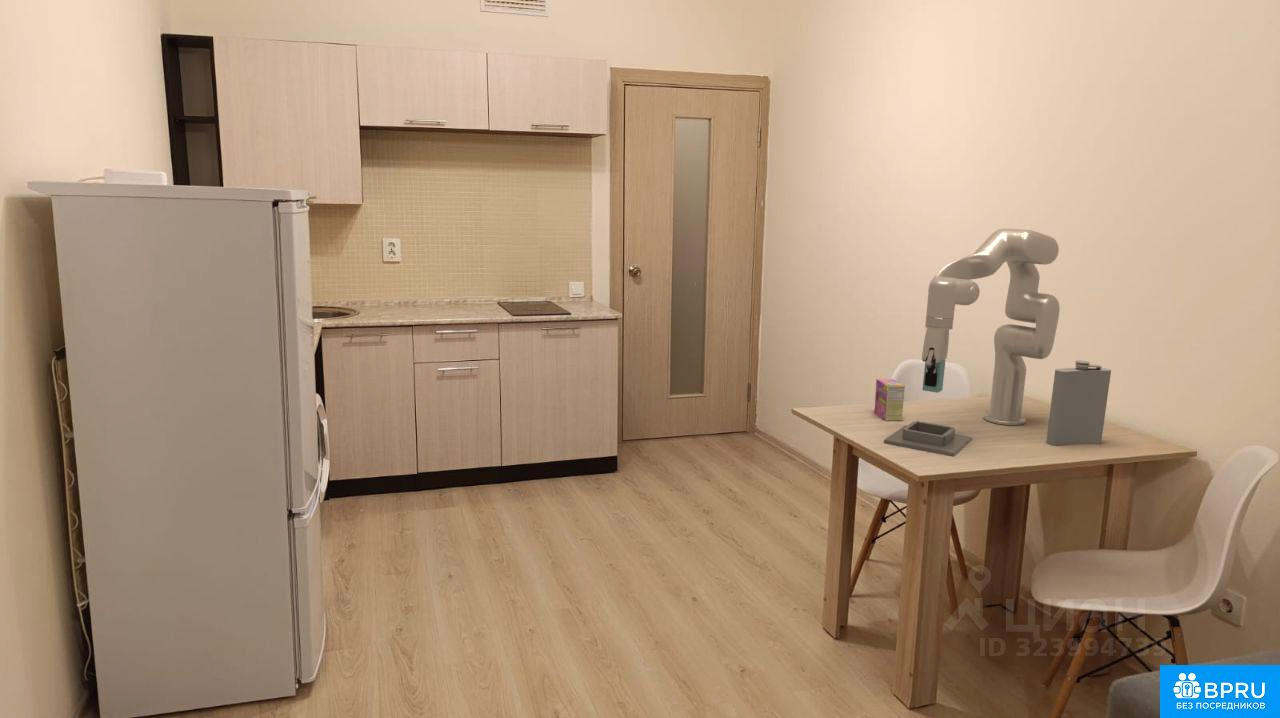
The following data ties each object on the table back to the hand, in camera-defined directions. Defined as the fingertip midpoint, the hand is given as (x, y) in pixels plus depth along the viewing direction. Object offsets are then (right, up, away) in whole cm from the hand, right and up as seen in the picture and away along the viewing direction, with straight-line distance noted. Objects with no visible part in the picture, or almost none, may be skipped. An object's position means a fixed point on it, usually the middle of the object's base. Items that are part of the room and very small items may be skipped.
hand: (932, 383), depth 246 cm
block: (0, -2, 0) cm, 2 cm away
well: (0, -17, +4) cm, 18 cm away
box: (-4, -12, +30) cm, 33 cm away
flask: (+44, -18, +6) cm, 48 cm away
